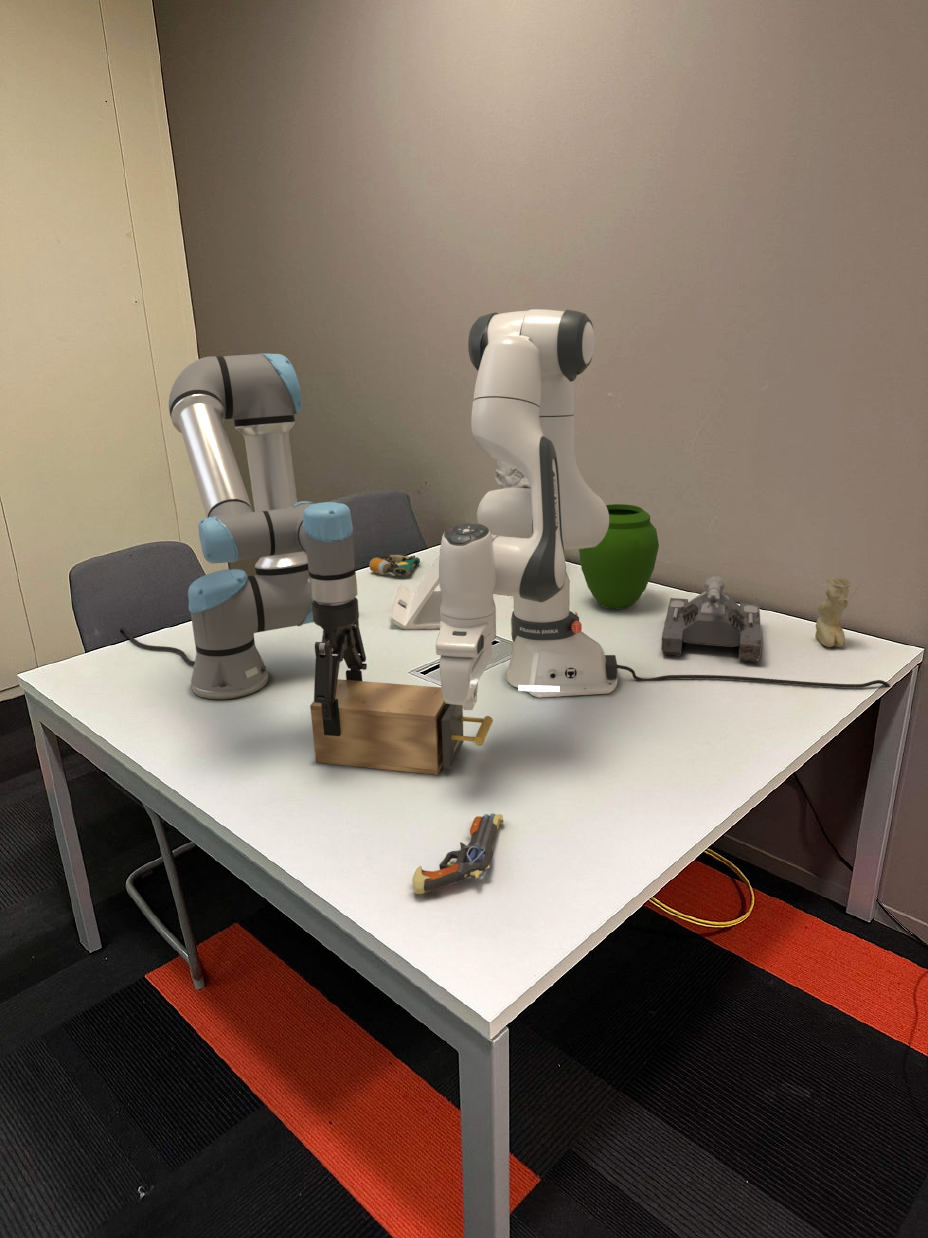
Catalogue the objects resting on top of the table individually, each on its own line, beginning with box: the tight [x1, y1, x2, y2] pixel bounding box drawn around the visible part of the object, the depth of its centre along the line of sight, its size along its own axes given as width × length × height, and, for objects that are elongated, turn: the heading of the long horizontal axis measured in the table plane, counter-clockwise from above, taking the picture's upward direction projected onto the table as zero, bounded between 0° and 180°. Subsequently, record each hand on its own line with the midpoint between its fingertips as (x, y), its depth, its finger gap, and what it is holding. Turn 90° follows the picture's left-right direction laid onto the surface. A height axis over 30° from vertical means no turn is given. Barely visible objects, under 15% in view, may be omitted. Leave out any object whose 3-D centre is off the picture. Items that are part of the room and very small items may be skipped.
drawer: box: [437, 703, 494, 770], centre depth 145 cm, size 26×10×9 cm, turn 77°
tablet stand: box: [388, 554, 442, 630], centre depth 211 cm, size 18×25×17 cm
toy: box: [660, 575, 762, 662], centre depth 188 cm, size 25×20×15 cm
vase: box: [578, 503, 660, 610], centre depth 210 cm, size 20×20×24 cm
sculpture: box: [814, 576, 852, 648], centre depth 185 cm, size 6×7×15 cm
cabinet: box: [309, 678, 450, 776], centre depth 146 cm, size 22×11×11 cm, turn 77°
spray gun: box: [369, 553, 421, 577], centre depth 246 cm, size 4×17×15 cm
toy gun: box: [412, 812, 504, 895], centre depth 119 cm, size 3×19×10 cm
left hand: (344, 719), depth 147 cm, fingers closed on cabinet, 11 cm apart
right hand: (469, 706), depth 140 cm, fingers closed
